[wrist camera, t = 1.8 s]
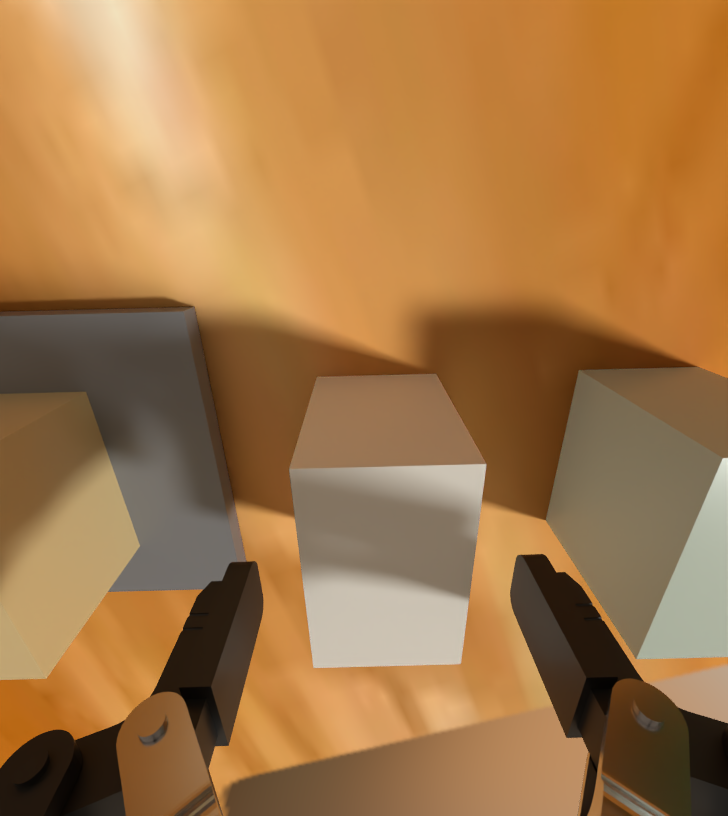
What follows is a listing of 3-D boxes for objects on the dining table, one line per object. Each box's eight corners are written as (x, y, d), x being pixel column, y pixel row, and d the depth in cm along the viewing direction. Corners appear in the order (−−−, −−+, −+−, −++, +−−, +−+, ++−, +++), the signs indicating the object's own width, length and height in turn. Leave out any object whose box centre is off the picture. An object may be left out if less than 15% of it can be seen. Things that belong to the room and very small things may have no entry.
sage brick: (578, 369, 16) (722, 458, 10) (696, 366, 16) (920, 453, 10) (544, 519, 19) (636, 659, 13) (643, 516, 19) (783, 655, 13)
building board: (-169, 316, 15) (-579, 377, 8) (194, 306, 15) (66, 361, 8) (-12, 579, 20) (-182, 735, 14) (248, 572, 20) (198, 725, 14)
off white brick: (317, 376, 16) (288, 469, 10) (435, 373, 16) (486, 464, 10) (328, 525, 19) (313, 667, 13) (427, 522, 19) (460, 664, 13)
